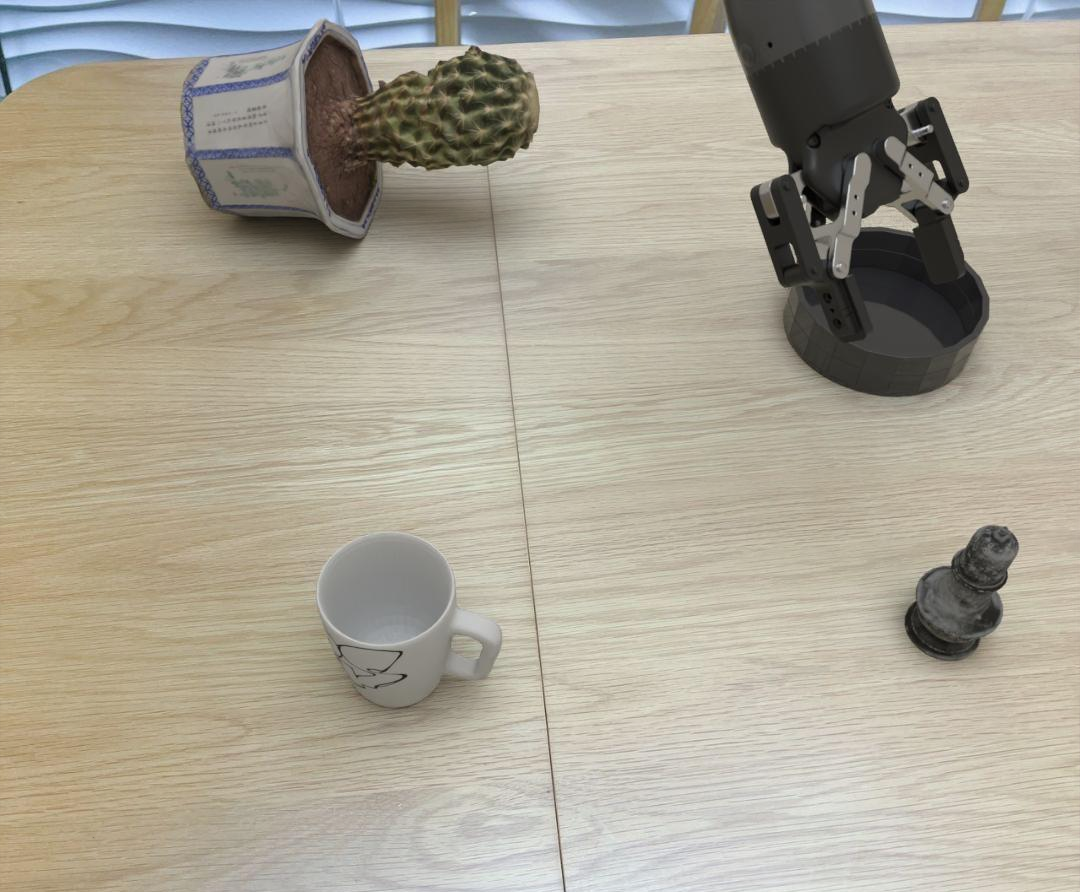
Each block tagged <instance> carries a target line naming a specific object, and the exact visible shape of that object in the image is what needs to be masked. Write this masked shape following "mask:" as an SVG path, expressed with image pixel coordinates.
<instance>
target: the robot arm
mask: <svg viewBox="0 0 1080 892" xmlns="http://www.w3.org/2000/svg"><path fill="white" fill-rule="evenodd" d="M720 1H721V5H722V9H723V14H724V18H725V22H726V26H727V30H728V34H729V36H730V39H731V42H732V45H733V48H734V50H735V52H736V55H737V57H738V61H739V63H740V65H741V68H742V70H743V74H744V76H745V78H746V82H747V84H748V87H749V89H750V92H751V94H752V97H753V100H754V103H755V104H756V108H757V110H758V114H759V115H760V118H761V120H762V123H763V126H764V128H765V131H766V133H767V137H768V139H769V142H770V143H771V145H772V146H773V147H775V148H777V149H780V150H782V151H783V152H784V154H785V156H786V159H787V166H788V169H787V171H788V173H785V174H782V175H779V176H777V177H774V178H772V179H769V180H766V181H764V182H762V183H759V184H755V185H754V186H753V187H752V188H751V190H750V192H749V196H750V201H751V204H752V208H753V211H754V213H755V216H756V219H757V222H758V225H759V227H760V230H761V233H762V236H763V240H764V243H765V245H766V249H767V251H768V254H769V257H770V261H771V263H772V266H773V270H774V271H775V275H776V278H777V280H778V283H779V285H780V286H781V287H782V288H785V289H789V287H793V286H805V285H807V286H810V287H812V288H813V289H814V290H815V292H816V294H817V297H818V299H819V302H820V305H821V307H822V310H823V312H824V314H825V318H826V320H827V321H828V322H827V323H828V325H829V328H830V331H831V332H832V333H833V334H834V336H835V337H838V338H839V340H840V341H841V342H843V343H849V342H855V341H861V340H864V339H865V338H867V337H868V336H870V335H871V334H872V333H873V325H872V323H871V320H870V317H869V315H868V312H867V309H866V307H865V304H864V301H863V299H862V296H861V293H860V291H859V288H858V285H857V282H856V280H855V277H854V274H852V275H848V273H849V266H850V258H851V250H852V243H853V241H854V239H855V238H856V237H857V236H858V235H859V233H860V228H861V227H862V220H864V219H867V218H868V217H870V216H872V215H873V214H875V213H876V212H877V210H878V209H879V208H880V207H882V206H884V207H887V208H894V209H896V210H897V211H898V212H900V213H901V215H903V216H905V217H906V218H907V219H908V220H910V221H911V222H912V223H913V224H917V226H915V227H913V228H912V229H911V231H912V232H913V233H914V236H915V239H916V242H917V245H918V247H919V250H920V253H921V256H922V259H923V261H924V264H925V267H926V270H927V273H928V276H929V278H930V280H931V282H932V283H934V284H942V283H947V282H951V281H955V280H957V279H959V278H960V277H962V276H963V275H964V274H965V272H966V268H965V265H964V260H965V254H964V253H965V252H964V251H963V248H962V246H961V241H960V240H959V236H958V233H957V230H956V228H955V224H954V222H953V218H952V213H953V211H954V208H955V201H956V199H957V198H958V197H959V195H962V194H965V193H967V192H968V190H969V188H970V180H969V179H970V178H969V177H968V175H967V171H966V168H965V166H964V163H963V161H962V158H961V155H960V153H959V150H958V148H957V145H956V143H955V140H954V138H953V135H952V133H951V129H950V127H949V125H948V122H947V120H946V117H945V116H946V115H945V114H944V112H943V108H942V106H941V104H940V101H939V100H938V99H937V97H935V96H929V97H927V98H924V99H921V100H918V101H915V102H913V103H910V104H908V105H906V106H905V107H902V108H899V109H897V108H896V107H895V105H894V103H893V98H894V97H895V96H896V95H897V94H898V93H899V91H900V88H901V80H900V77H899V75H898V71H897V69H896V65H895V63H894V60H893V57H892V53H891V51H890V47H889V45H888V42H887V39H886V37H885V33H884V31H883V28H882V25H881V22H880V19H879V16H878V13H877V10H876V7H875V5H874V2H873V0H720ZM935 161H936V162H938V163H939V164H940V167H941V169H942V173H943V175H944V176H945V177H942V178H940V177H939V174H938V171H937V169H936V166H935V164H934V162H935ZM804 204H805V206H804ZM827 220H828V221H830V222H829V223H827ZM791 246H792V248H791ZM829 247H830V249H829V258H828V259H827V253H828V248H829ZM792 249H793V251H792ZM793 252H794V254H793ZM794 255H795V257H794ZM795 258H796V260H795ZM797 261H798V263H796V262H797ZM847 275H848V276H847Z"/></svg>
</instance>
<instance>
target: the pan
mask: <svg viewBox="0 0 1080 892" xmlns="http://www.w3.org/2000/svg"><path fill="white" fill-rule="evenodd" d="M829 249H830V247H829V248H828V253H827V259H828V258H829ZM795 263H798V261H797V260H796V261H795ZM964 265H965V268H966V272H965V274H964V275H963V276H962V277H960V278H959V279H957V280H955V281H951V282H947V283H942V284H934V283H932V282H931V280H930V278H929V276H928V273H927V270H926V267H925V264H924V261H923V259H922V256H921V253H920V250H919V247H918V245H917V242H916V239H915V236H914V233H913V231H908V230H903V229H902V230H901V229H896V228H892V227H886V226H861V228H860V233H859V235H858V236H857V237H856V238H855V239H854V241H853V243H852V250H851V258H850V266H849V273H848V275H852V274H854V277H855V280H856V282H857V285H858V288H859V291H860V293H861V296H862V299H863V301H864V304H865V307H866V309H867V312H868V315H869V317H870V320H871V323H872V325H873V333H872V334H871V335H870V336H868V337H867V338H865V339H864V340H861V341H855V342H849V343H843V342H841V341H840V340H839V338H838V337H835V336H834V334H833V333H832V332H831V331H830V328H829V325H828V323H827V322H828V321H827V320H826V318H825V314H824V312H823V310H822V307H821V305H820V302H819V299H818V297H817V294H816V292H815V290H814V289H813V288H812V287H810V286H807V285H805V286H793V287H789V288H788V290H787V294H786V299H785V303H784V308H783V313H782V315H783V316H782V320H783V328H784V331H785V334H786V337H787V339H788V341H789V343H790V345H791V347H792V348H793V350H794V351H795V352H796V354H797V355H798V356H799V357H800V358H801V359H802V360H803V361H804V363H806V364H807V365H808V366H810V367H811V368H812V369H813V370H814V371H815V372H817V373H819V374H820V375H821V376H823V377H824V378H827V379H828V380H831V381H832V382H834V383H836V384H839V385H840V386H842V387H845V388H849V389H851V390H854V391H857V392H862V393H865V394H869V395H875V396H882V397H910V396H911V397H912V396H916V395H917V396H918V395H922V394H923V395H924V394H926V393H930V392H933V391H936V390H937V389H941V388H943V387H944V386H946V385H948V384H949V383H952V381H953V380H955V378H956V377H959V375H960V374H961V373H962V371H963V370H964V369H965V367H966V365H967V364H968V362H969V360H970V358H971V357H972V354H973V353H974V351H975V348H976V346H977V344H978V343H979V340H980V338H981V336H982V334H983V333H984V330H985V328H986V326H987V324H988V322H989V319H990V305H991V304H990V302H991V301H990V295H989V293H988V291H987V288H986V286H985V284H984V282H983V280H982V278H981V276H980V275H979V273H977V272H976V270H975V269H974V268H973V267H972V265H970V264H969V263H968V262H967V260H966V259H964ZM848 275H847V276H848Z"/></svg>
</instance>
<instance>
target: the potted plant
mask: <svg viewBox="0 0 1080 892" xmlns="http://www.w3.org/2000/svg"><path fill="white" fill-rule="evenodd" d="M534 75H535V74H534V72H532V71H528V72H525V70H524V69H523V67H522V65H521V64H520V63H519V62H518V61H517V59H516V58H511V57H506V56H503V55H501V54H500V55H499V54H495V53H490V52H487V51H483V50H482V49H481V48H480V47H479V46H476V45H473V44H471V45H470V46H469V48H468V50H466V51H464V55H456V56H454V57H451V58H450V59H448V60H439V61H438V62H437V63H436V65H435V67H433V68H430V69H428V70H427V74H426V75H425V74H423V73H421V72H418V71H416V70H411V71H408V72H405V73H401V74H399V75H398V76H397V77H396V78H394V79H393V80H391V81H390V82H388V83H387V82H386V81H385V80H383V79H380V80H377V82H378V88H377V89H376V90H375V91H374V87H373V83H372V81H371V77H370V75H369V71H368V67H367V64H366V62H365V58H364V55H363V52H362V50H361V46H360V44H359V41H358V40H357V39H356V38H355V37H354V35H353V34H352V33H351V32H349V31H348V30H347V28H345V27H343V26H342V25H340V24H338V23H336V22H333V21H330V20H329V19H328V18H326V17H325V18H319V19H318V20H317V21H316V22H315V23H314V25H313V26H312V27H311V28H310V29H309V31H308V32H307V33H306V34H305V36H304V37H303V38H301V39H299V40H297V41H294V42H292V43H288V44H285V45H281V46H278V47H273V48H268V49H260V50H255V51H251V52H242V53H241V52H240V53H233V54H221V55H215V56H209V57H205V58H203V59H201V60H199V61H198V62H197V63H195V64H194V65H193V66H192V67H191V69H190V71H189V73H188V74H187V76H186V77H185V79H184V80H183V85H182V88H181V92H180V106H179V107H180V108H179V111H180V113H179V114H180V124H181V129H182V134H183V141H182V143H183V148H184V153H185V155H184V163H185V165H186V167H187V169H188V171H189V173H190V176H192V178H193V180H194V181H195V183H196V186H197V188H198V192H199V193H200V196H201V199H202V200H203V202H204V203H205V204H206V206H207V207H208V208H209V209H210V211H213V212H217V213H222V214H225V215H229V216H230V215H231V216H236V217H260V218H261V217H263V218H264V217H265V218H272V217H274V218H276V217H277V218H278V217H288V218H290V217H294V218H312V219H317V220H319V221H321V222H322V223H323V224H324V225H325V226H326V227H327V228H329V229H330V230H331V231H332V232H334V233H337V234H340V235H343V236H345V237H350V238H352V239H358V240H359V239H362V238H364V237H365V236H366V235H367V233H368V230H369V228H370V225H371V222H372V221H373V220H374V216H375V215H374V214H375V211H376V210H378V207H379V204H380V199H381V195H382V191H383V179H384V178H383V177H384V176H383V164H386V163H389V164H390V165H391V166H392V167H394V168H398V169H399V168H400V166H402V165H404V164H405V163H407V164H409V165H410V166H412V168H414V169H415V168H418V167H422V168H424V169H425V170H426V172H431V171H438V170H445V169H449V168H450V167H452V166H455V167H467V166H470V165H471V166H475V167H477V166H479V165H480V166H481V167H488V166H489V165H491V164H494V163H496V162H506V161H507V160H509V159H514V157H515V156H516V153H517V151H518V150H520V149H521V150H525V151H527V150H528V149H529V148H530V144H531V143H533V142H534V135H535V134H536V133H537V132H538V129H539V122H540V112H541V107H540V97H539V91H538V87H537V83H536V79H535V76H534Z"/></svg>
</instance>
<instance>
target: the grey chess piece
mask: <svg viewBox="0 0 1080 892" xmlns="http://www.w3.org/2000/svg"><path fill="white" fill-rule="evenodd" d="M1019 550H1020V543H1019V541H1018V538H1017V537H1016V535H1015V533H1013V532H1012V531H1011V530H1010V529H1009V527H1008V526H1002V525H997V524H987V525H984V526H982V527H980V528H978V529H976V531H975V532H974V533H973V535H972V536H971V537H970V540H969V541H968V543H967V545H966V546H965V547H964V548H961V549H959V550H958V551H956V552H955V553H954V555H953V556H952V559H951V561H950V565H941V566H937V567H932V568H931V569H930V570H928V571H926V572H924V574H923V575H922V576H921V577H920V578H919V580H918V581H917V585H916V587H915V601H913V602H912V603H911V605H910V606H908V608H907V610H906V613H905V614H904V628H905V632H906V634H907V636H908V637H909V640H910V641H911V642H912V643H913V644H914V645H915V646H916V647H917V648H918V649H919V650H920V651H921V652H923V653H924V654H925V655H928V656H930V657H932V658H934V659H937V660H941V661H945V662H948V661H950V662H951V661H953V662H957V661H960V660H963V659H966V658H968V657H970V656H971V655H973V654H974V653H975V651H976V650H977V649H978V648H979V645H980V642H981V638H984V637H987V636H988V635H990V634H991V633H993V632H995V630H996V629H998V627H999V626H1000V624H1001V622H1002V620H1003V616H1004V604H1003V601H1002V598H1001V596H1000V594H999V592H998V591H999V590H1001V589H1002V588H1003V587H1004V586H1005V585H1006V584H1007V582H1008V578H1009V573H1008V570H1009V568H1010V566H1012V563H1013V562H1014V561H1015V559H1016V557H1018V556H1017V555H1018V553H1019Z"/></svg>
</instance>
